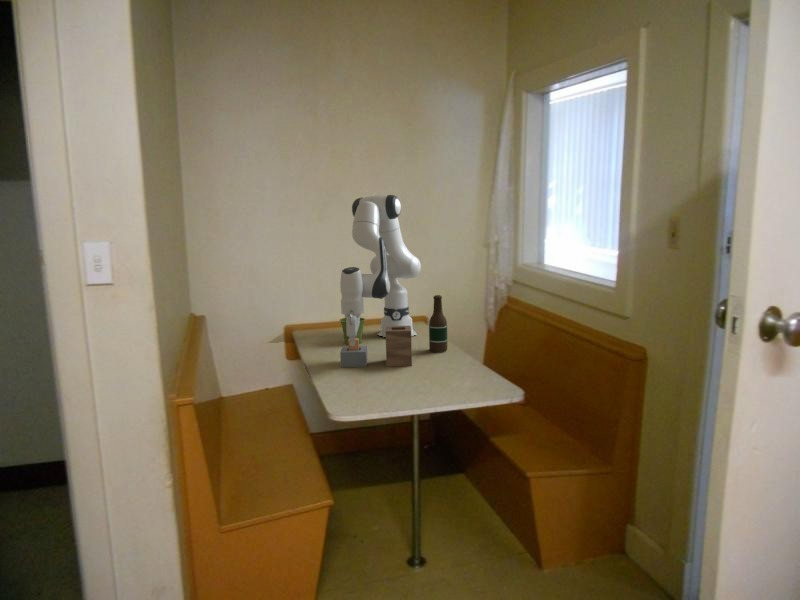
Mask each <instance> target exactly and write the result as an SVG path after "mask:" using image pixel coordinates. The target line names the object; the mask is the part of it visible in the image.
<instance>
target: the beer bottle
mask: <svg viewBox="0 0 800 600" xmlns="http://www.w3.org/2000/svg"><path fill="white" fill-rule="evenodd" d="M442 299H443V296H442V295H438V294H435V295H433V312H432V315H431V316H430V318H429V323H428V331H429V332H428V339H429V341H428V343H429V345H428V346H429V351H430V352H431V353H437V352H439V353H445V352H447V351H448V321H447V318H446V317H445V315H444V312H443V303H442V302H443V300H442ZM446 350H447V351H446Z"/></svg>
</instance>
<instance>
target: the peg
mask: <svg viewBox="0 0 800 600" xmlns="http://www.w3.org/2000/svg"><path fill="white" fill-rule="evenodd" d="M347 346H349V351H351V350H359V346H360V344H359V338H355V346H351V345H350V339H349V340H348V344H347Z"/></svg>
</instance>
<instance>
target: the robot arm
mask: <svg viewBox="0 0 800 600" xmlns="http://www.w3.org/2000/svg"><path fill="white" fill-rule="evenodd" d="M401 205H402V204H401V200H400V198H398V196H397V195H395V194H394V195H393V194H380V195H379V194H378V195H377V194H376V195H371V196H365V197H358V198H356V199H355V200H354V201H353V202H352V205H351V213H352V216H353V222H352V232H351V236H352V239H353V240H354V242H355V244H357V246H359V247H361V248H362V249H365V250H368V251H370V252H372V253H374V254H375V256H374V257H373V258H372V259H371V261H370V265H369V267H370V268H369V269H370V272H371V273H362V271H361V269H360V268H359V267H356V266H350V267H346V268H343V269H342V270H341V273H340V283H339V284H340V285H339V288H340V294H341V298H340V299H341V300H340V308H341V315H344V318H347V319H346V330H347V336H348V337H349V338H350V345H351V346H355V338H357V331H358V328H359V324H360V317H361V318H362V316H361V315H362V314H364V311H365V309H364V307H365V306H364V298H373V299H378V300H379V299H381V300H382V299H384V306H383V317H382V318H381V319H380V325H381V326H380V331H379V332H378V333H377V335H379V336H384V337H386V326H411V337H415V336H414V335H416V336H417V332H416V331H415V330H414V329H413V318H412V317H411V316H410V315H409V314H410V307H409V304H408V302H409V301H408V300H409V299H408V293H409V292H408V290H407V288H405V286H403V285H402V284H401V283H400V282H399V281H398V279H406V280H407V279H414V278H417V277H418V276H419V275H420V273H421V270H422V264H421V261H420V259H419V258H418V257H416V256H415V255H414V254H413V253H411V251H410V250H409V249H408V248H407V246H406V245H405V242H404V239H403V235H402V231H401V226H400V222H399V218H398V217H399V216H400V214H401V212H402V206H401ZM387 253H388V254H387ZM379 336H378V337H379ZM384 337H383V338H384Z"/></svg>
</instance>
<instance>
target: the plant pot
mask: <svg viewBox="0 0 800 600" xmlns="http://www.w3.org/2000/svg"><path fill="white" fill-rule="evenodd" d="M346 319H347V318H345V317H343V318H340V319H339V322H340V324H341V327H342V332H343V337H344V338H343V339H344V343H345V344H346V343H347V344H346V345H348V340H349V339H350V338H349V337H348V336H347V330H346ZM365 321H366V318H364V317H362V316H361V317H360V324H359V328H358V331H357V338H359V343H360V344H361V343H362V338H363V329H364V326H365Z"/></svg>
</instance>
